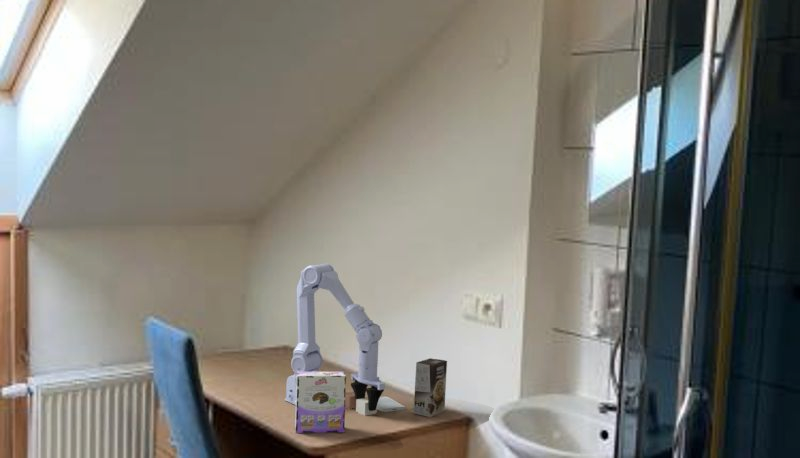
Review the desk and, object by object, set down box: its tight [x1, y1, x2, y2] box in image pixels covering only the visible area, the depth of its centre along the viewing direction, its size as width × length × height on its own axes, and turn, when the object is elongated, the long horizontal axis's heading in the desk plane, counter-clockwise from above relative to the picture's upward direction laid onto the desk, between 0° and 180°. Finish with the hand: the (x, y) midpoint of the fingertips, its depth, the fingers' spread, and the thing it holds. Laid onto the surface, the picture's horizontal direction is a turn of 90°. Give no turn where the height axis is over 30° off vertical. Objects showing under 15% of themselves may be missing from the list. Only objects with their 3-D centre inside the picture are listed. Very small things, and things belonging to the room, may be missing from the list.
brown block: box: [345, 391, 356, 410], centre depth 266 cm, size 4×4×4 cm
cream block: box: [355, 397, 378, 416], centre depth 260 cm, size 4×4×4 cm
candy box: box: [294, 370, 347, 434], centre depth 240 cm, size 14×6×16 cm, turn 99°
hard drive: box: [377, 396, 407, 413], centre depth 268 cm, size 2×8×12 cm
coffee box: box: [413, 357, 448, 418], centre depth 262 cm, size 9×6×16 cm
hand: (366, 408), depth 260 cm, fingers open, 5 cm apart
